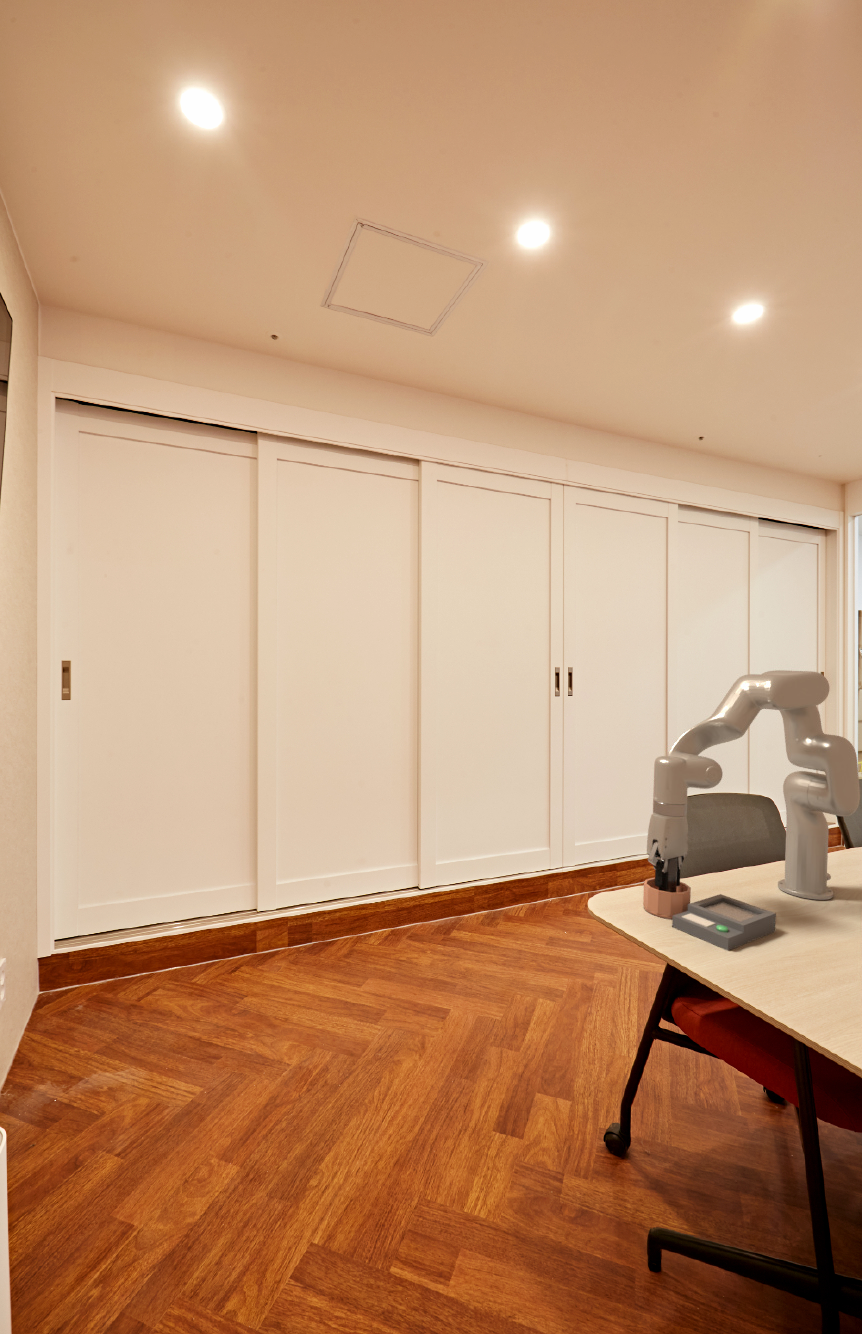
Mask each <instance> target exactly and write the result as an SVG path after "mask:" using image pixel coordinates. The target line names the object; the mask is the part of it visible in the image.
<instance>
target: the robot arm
mask: <svg viewBox="0 0 862 1334" xmlns="http://www.w3.org/2000/svg"><path fill="white" fill-rule="evenodd" d="M829 694H830V683H829V680H828V679H827V677H825V675H823V673H820V672H818V671H811V670H810V671H809V670H804V671H803V670H782V669H781V670H780V669H779V670H776V669H775V670H768V671H765V672H763V673H761V674H755V673H754V674H751V673H750V674H745V675H742V676H739V677H738V678H737V679H736V681H734V683H733V684H732V685H731V687H730V689H729V690H728V691H727V693H726V695H724V698H723V699H722V700H721V702H720V703H719V704H718V706H717V707H716V709H715V710H714V711H713V712H712V714H711V715H710V716H709V717H708V718H706V719H704V720H703V721H701V722H699V723H697V724H695V725H694V726H693V727H691V728H690V729H688V730H687V731H686V732H685V731H684V733H682V735H680V737H679V738H677V740H676V741H675V742H674V744H673V745H672V747H671V748H670V750H669V751H668V752H667V754H666V755H663V756H662V755H660V756H658V757H656V758H655V760H654V767H653V770H654V771H653V795H652V796H653V798H652V799H653V802H652V814H651V815H650V819H649V824H648V828H647V830H648V831H647V838H646V840H647V841H646V854H647V855H648V856H647V861H648V862H649V863H650V864H651V865H652V866H653V870H655V872H654V873H655V874H654V878H655V886H657V887H659V888H662V889H665V890H666V889H668V872H666V871H667V865H668V859H672V858H676V857H678V859H677V886H680V882H681V869H682V867H683V863H684V859H685V858H686V857H687V855H688V853H689V852H688V848H689V828H688V827H689V826H688V818H687V817H688V815H687V814H688V813H687V812H688V789H689V788H691V789H692V788H694V789H700V790H701V789H702V790H708V789H712V788H715V787H716V786H718V785H719V783H720V782H721V781H722V778H723V769H722V766H721V765H720V764H719V763H718V762H717V761H716V760H714V759H712V758H709V757H707V756H702V755H700V754H701V753H702V752H704V751H705V750H707V749H709V748H711V747H714V746H717V745H720V744H724V743H728V742H729V743H730V742H732V741H735V740H738V739H740V738H742V737H743V736H744V735H745V734H746V732H747V730H748V729H749V728H750V726H751V725H752V723H753V721H754V720H755V719H756V717H757V716H758V715H759V713H760V712H761V710H775V711H779V712H780V714H781V717H782V722H783V723H782V724H783V731H784V743H785V751H786V752H785V753H786V757H787V759H788V761H789V763H791V764H792V765H793V766H795V767H799V768H803V769H808V770H813V771H820V772H824V774H823V773H817V772H813V771H807V770H805V771H804V770H797V771H794V772H791V773H789V774H788V775H787V776H786V777H785V779H784V781H783V785H782V788H783V789H782V790H783V797H784V803H785V804H784V805H785V808H786V810H785V813H786V825H785V826H786V829H785V855H784V859H785V861H784V879H780V880H778V882H777V888H779V889H780V890H781V891H783V892H784V893H787V894H789V895H792V896H795V897H799V898H801V899H802V898H803V899H809V900H817V901H819V900H820V901H821V900H824V901H827V900H830V899H833V897H834V891H833V890H832V889H831V888H829V887H828V886H827V885H828V884H827V883H828V881H829V880H831V879H832V876H831V874H830V873H828V861H829V860H828V857H829V855H828V854H829V833H830V832H829V824H828V822H827V821H828V820H827V818H826V816H825V814H829V815H833V816H837V817H850V816H851V815H853V814H855V812H856V811H857V810H858V808H859V806H860V801H861V800H860V799H861V798H860V797H861V795H860V794H861V791H860V779H859V778H860V777H859V768H858V757H857V752H856V749H855V746H854V745H853V743H852V742H851V741H850V740H849V739H847V738H845V737H844V736H840V735H836V734H828V733H825V732H823V728H822V727H823V725H822V720H821V715H820V711H819V708H818V705H821V704H822V703H824V702H825V701H826V700H827V698H828V696H829ZM824 813H825V814H824ZM660 855H661V857H660ZM660 860H661V861H663V864H661V862H659V861H660Z"/></svg>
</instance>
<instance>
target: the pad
mask: <svg viewBox="0 0 862 1334" xmlns="http://www.w3.org/2000/svg"><path fill="white" fill-rule="evenodd" d="M705 908H706V909H709V910H711V911H714V912H717V913H719V914H722V915H725V916H727V917H730V918H733V919H735V920H738V921H743V920H746V919H749V918H751V917H754V916H757V915H759V914H757V913H754V912H751V911H748V910H746V909H743V908H740V907H737V906H734V905H731V904H729V903H726V902H721V903H718V904H714V905H711V906H708V907H705Z"/></svg>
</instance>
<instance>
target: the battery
mask: <svg viewBox="0 0 862 1334" xmlns="http://www.w3.org/2000/svg"><path fill="white" fill-rule="evenodd" d="M660 857H661V855H660ZM677 859H678V857H676V858H672V859H668V865H667V871H666V872H668V889H666V890H665V889H662V888H658V890H660V891H666V892H676V891H677ZM659 862H661V864H663V861H661V860H660V861H659Z"/></svg>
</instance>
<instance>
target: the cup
mask: <svg viewBox="0 0 862 1334" xmlns="http://www.w3.org/2000/svg"><path fill="white" fill-rule="evenodd" d="M658 888H659V887H657V886H655V877H650V878H647V879H645V880H644V883H643V898H642V899H643V901H642V904H643V909H644V911H645V912H647V913H649V914H650V915H652V916H655V917H657V918H662V919H666V920H672V919H673V915H676V914H680V913H683V912H686V911H688V904H690V903H691V897H692V896H691V895H692V893H691V891H692V888H691V887H690V886H689V885H688V884H687V883H684V882H682V881H680V886H677V891H676V892H666V891H660V890H658Z"/></svg>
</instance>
